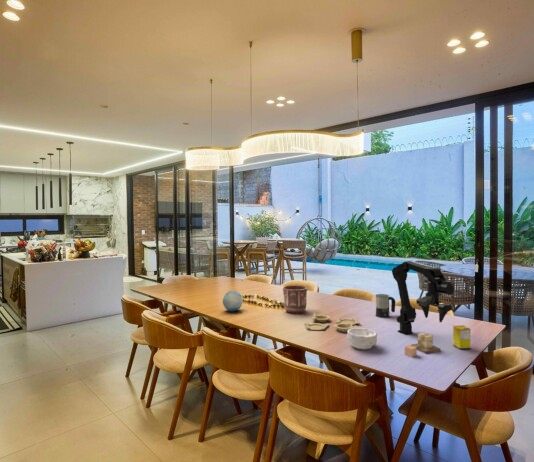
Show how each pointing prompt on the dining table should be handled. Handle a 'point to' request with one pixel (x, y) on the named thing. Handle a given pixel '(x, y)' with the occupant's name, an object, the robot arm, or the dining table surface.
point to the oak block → (425, 340)
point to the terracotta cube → (410, 351)
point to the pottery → (295, 298)
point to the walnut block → (426, 351)
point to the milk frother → (384, 305)
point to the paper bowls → (361, 338)
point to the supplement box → (461, 337)
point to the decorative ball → (232, 301)
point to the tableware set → (342, 326)
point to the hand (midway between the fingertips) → (433, 319)
